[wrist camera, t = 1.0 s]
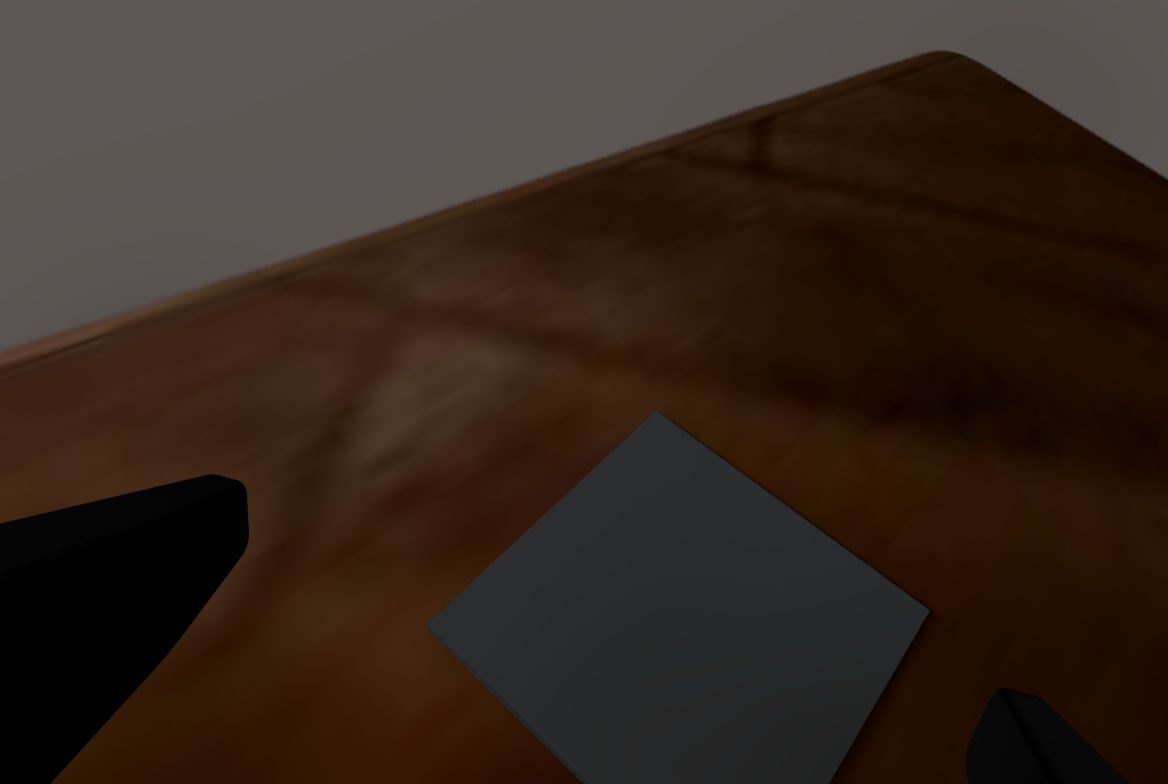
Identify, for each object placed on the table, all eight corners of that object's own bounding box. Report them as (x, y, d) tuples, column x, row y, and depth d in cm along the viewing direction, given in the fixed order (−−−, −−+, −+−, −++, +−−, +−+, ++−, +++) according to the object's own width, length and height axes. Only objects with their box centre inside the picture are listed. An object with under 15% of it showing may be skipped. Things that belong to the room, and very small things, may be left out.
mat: (735, 935, 20) (741, 934, 19) (428, 629, 24) (427, 623, 23) (923, 616, 26) (929, 610, 26) (654, 418, 30) (656, 410, 30)
